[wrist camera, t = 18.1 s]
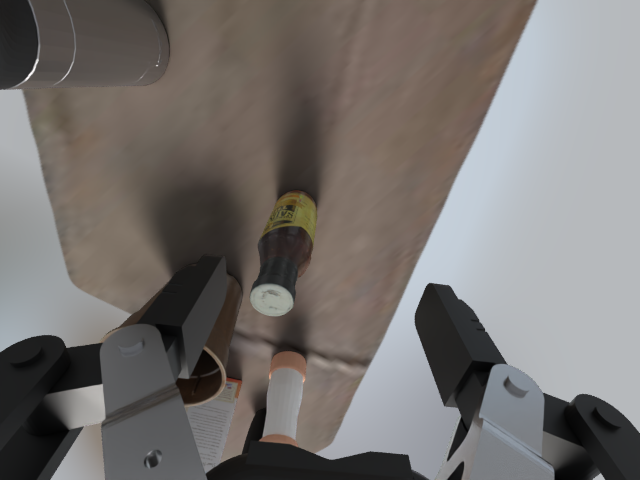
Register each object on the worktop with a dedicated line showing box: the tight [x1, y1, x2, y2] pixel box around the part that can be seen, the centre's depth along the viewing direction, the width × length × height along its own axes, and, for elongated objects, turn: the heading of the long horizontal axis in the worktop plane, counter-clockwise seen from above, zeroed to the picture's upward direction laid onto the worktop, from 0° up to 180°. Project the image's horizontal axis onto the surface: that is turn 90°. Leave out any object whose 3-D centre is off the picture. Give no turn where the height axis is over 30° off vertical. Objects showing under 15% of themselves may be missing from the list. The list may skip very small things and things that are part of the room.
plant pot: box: [99, 264, 242, 407], centre depth 43 cm, size 16×16×16 cm
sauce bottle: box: [250, 190, 317, 316], centre depth 34 cm, size 7×6×20 cm
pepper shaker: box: [259, 351, 306, 447], centre depth 51 cm, size 7×7×19 cm
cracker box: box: [185, 377, 242, 474], centre depth 54 cm, size 14×6×21 cm, turn 69°
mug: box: [242, 409, 267, 454], centre depth 64 cm, size 12×9×10 cm
